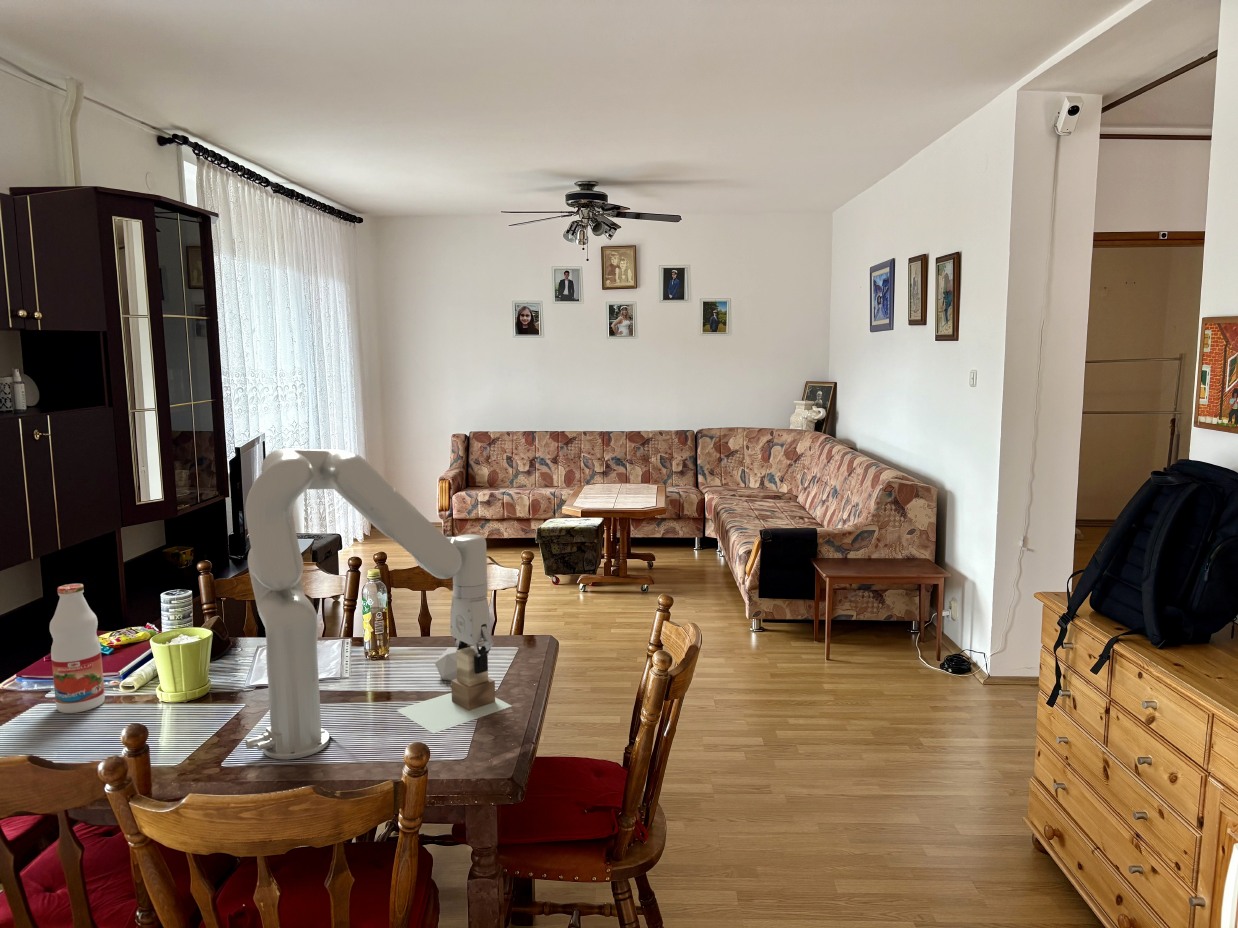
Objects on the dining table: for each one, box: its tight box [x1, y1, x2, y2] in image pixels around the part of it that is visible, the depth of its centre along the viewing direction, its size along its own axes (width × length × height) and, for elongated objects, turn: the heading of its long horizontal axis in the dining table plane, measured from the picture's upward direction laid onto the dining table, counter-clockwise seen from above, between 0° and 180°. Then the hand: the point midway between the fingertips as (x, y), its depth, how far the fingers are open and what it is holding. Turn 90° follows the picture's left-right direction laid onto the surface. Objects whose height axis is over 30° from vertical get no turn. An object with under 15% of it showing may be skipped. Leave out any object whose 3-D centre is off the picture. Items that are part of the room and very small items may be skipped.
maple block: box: [456, 645, 489, 686], centre depth 186 cm, size 5×5×7 cm
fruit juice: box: [49, 583, 106, 714], centre depth 187 cm, size 9×9×28 cm
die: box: [434, 647, 457, 682], centre depth 202 cm, size 8×9×10 cm
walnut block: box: [450, 677, 496, 711], centre depth 187 cm, size 7×7×5 cm
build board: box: [395, 692, 512, 735], centre depth 184 cm, size 20×16×1 cm
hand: (472, 667), depth 187 cm, fingers open, 6 cm apart
